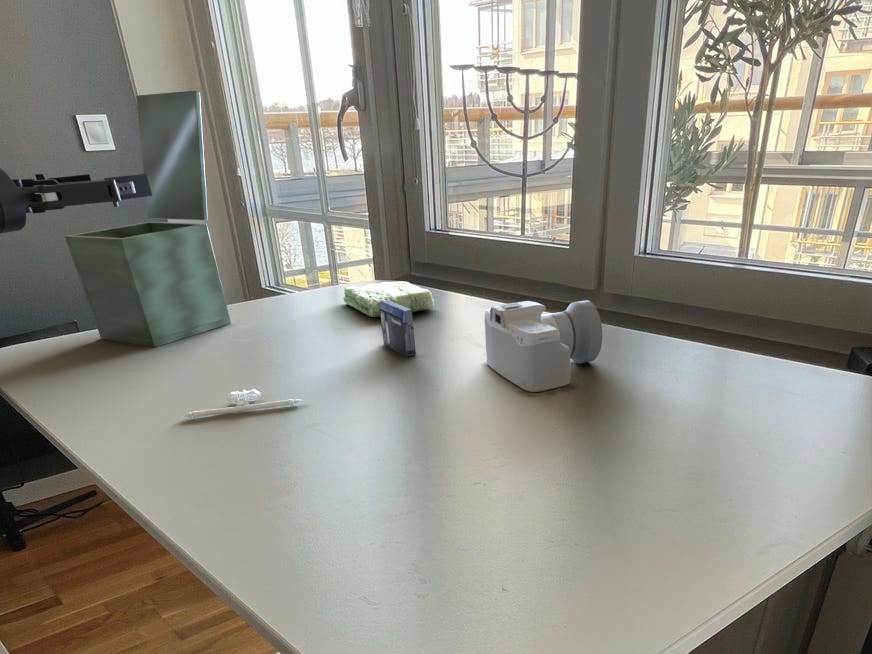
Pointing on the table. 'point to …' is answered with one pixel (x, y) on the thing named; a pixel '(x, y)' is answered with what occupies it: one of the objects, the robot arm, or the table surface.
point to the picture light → (242, 404)
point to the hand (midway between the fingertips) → (118, 184)
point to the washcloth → (387, 297)
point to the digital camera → (540, 342)
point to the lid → (173, 155)
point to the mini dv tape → (397, 327)
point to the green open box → (150, 281)
